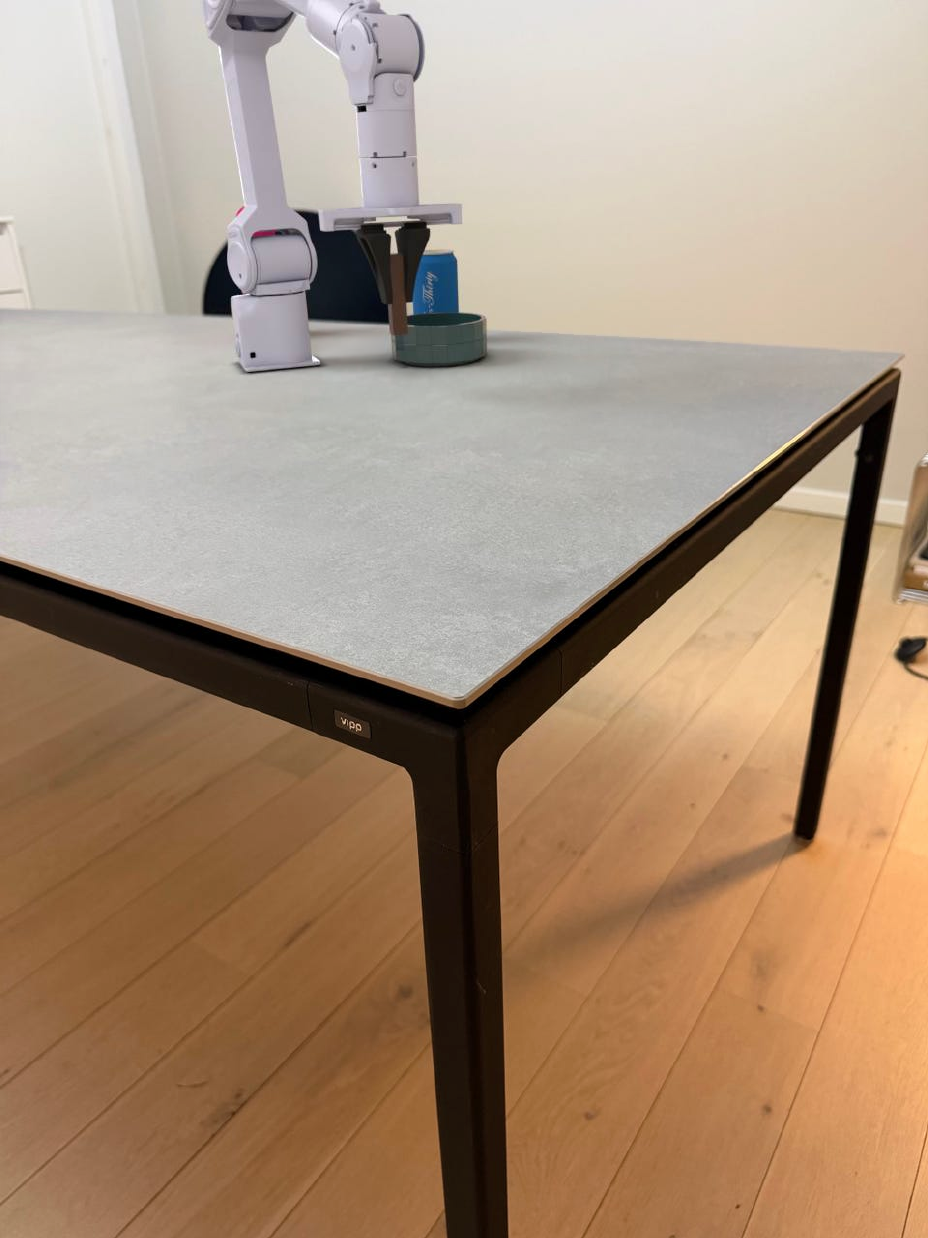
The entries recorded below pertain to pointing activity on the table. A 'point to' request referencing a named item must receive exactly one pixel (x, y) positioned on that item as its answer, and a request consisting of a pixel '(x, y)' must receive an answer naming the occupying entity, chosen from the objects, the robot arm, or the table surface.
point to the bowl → (441, 339)
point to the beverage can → (436, 283)
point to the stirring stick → (398, 296)
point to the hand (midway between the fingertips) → (396, 302)
